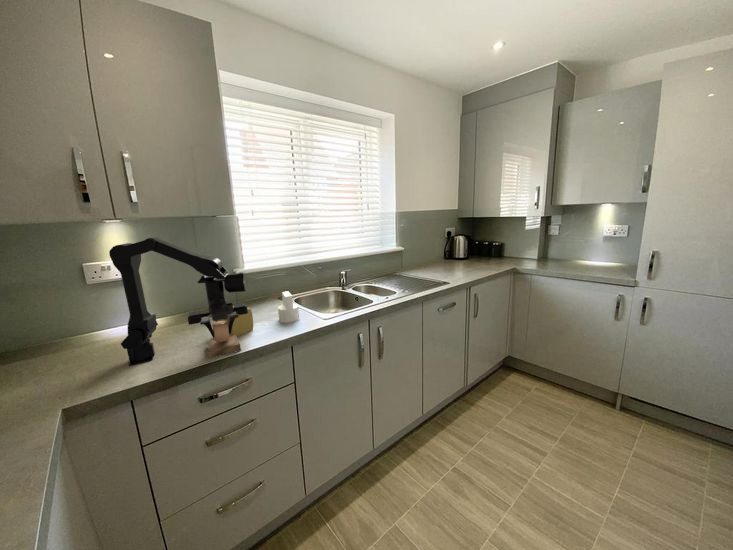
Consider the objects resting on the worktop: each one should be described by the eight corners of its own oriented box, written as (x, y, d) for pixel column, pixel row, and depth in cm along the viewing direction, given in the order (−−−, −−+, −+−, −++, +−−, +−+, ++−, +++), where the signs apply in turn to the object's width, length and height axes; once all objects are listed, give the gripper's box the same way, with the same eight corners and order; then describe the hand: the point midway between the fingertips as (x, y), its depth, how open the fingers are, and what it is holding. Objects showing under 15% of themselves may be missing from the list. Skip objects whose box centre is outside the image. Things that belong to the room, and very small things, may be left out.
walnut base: (209, 358, 101) (208, 351, 100) (207, 347, 109) (206, 340, 109) (240, 350, 106) (239, 343, 105) (236, 340, 114) (235, 334, 114)
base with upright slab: (277, 317, 138) (275, 293, 135) (297, 314, 141) (294, 290, 139) (280, 324, 130) (278, 298, 127) (301, 320, 133) (299, 294, 131)
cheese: (216, 335, 120) (212, 312, 118) (238, 326, 130) (235, 304, 127) (233, 339, 115) (230, 315, 113) (255, 329, 125) (252, 307, 123)
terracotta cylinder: (215, 343, 103) (212, 327, 102) (214, 338, 108) (211, 322, 106) (230, 339, 106) (228, 323, 105) (229, 334, 110) (226, 319, 109)
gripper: (184, 304, 92) (192, 351, 95) (248, 294, 101) (253, 337, 105) (184, 296, 101) (191, 339, 105) (242, 287, 111) (247, 327, 114)
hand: (221, 335), depth 107 cm, fingers closed on terracotta cylinder, 5 cm apart
